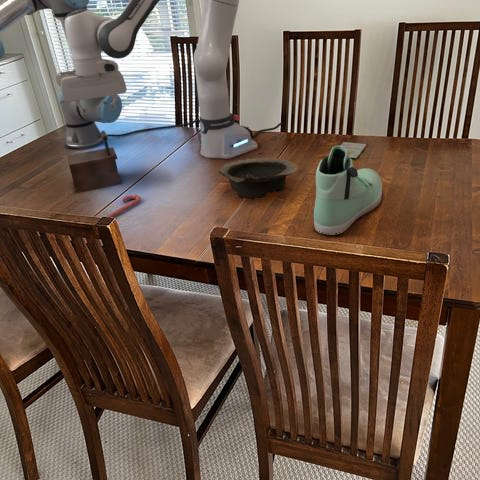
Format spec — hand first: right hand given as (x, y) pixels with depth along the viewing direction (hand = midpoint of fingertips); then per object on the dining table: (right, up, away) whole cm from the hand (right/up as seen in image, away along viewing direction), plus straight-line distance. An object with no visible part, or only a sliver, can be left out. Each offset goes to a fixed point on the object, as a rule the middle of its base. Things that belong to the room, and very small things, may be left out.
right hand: (98, 111), depth 156 cm
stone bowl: (+52, -25, -2) cm, 58 cm away
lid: (-4, -15, +7) cm, 16 cm away
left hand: (-34, -16, -4) cm, 38 cm away
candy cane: (+10, -32, -8) cm, 35 cm away
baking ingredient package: (+87, -9, +20) cm, 90 cm away
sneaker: (+78, -33, -17) cm, 86 cm away
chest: (-4, -22, +11) cm, 25 cm away
